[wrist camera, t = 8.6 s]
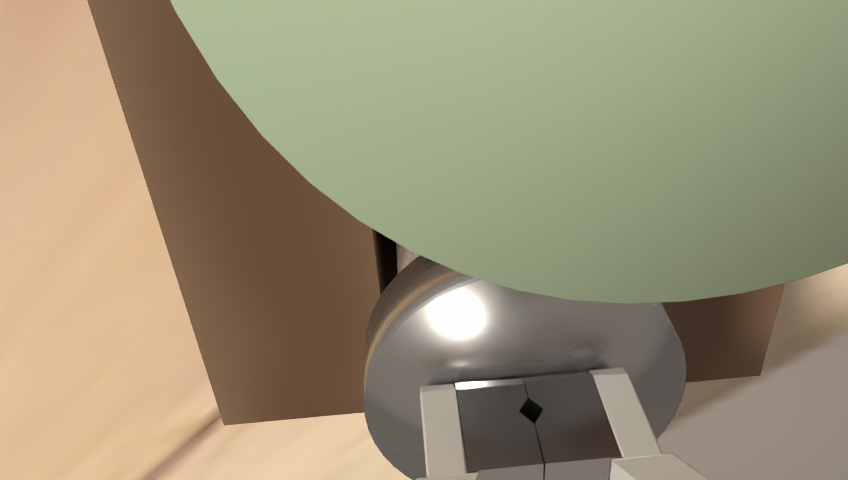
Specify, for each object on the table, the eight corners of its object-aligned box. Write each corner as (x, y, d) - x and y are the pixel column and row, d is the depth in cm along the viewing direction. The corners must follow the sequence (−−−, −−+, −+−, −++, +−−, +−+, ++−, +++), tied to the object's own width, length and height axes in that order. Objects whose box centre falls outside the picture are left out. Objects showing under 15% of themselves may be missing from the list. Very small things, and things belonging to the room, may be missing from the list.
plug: (559, 30, 17) (709, 255, 10) (552, 204, 20) (665, 487, 12) (355, 47, 17) (344, 289, 10) (376, 220, 20) (381, 514, 12)
